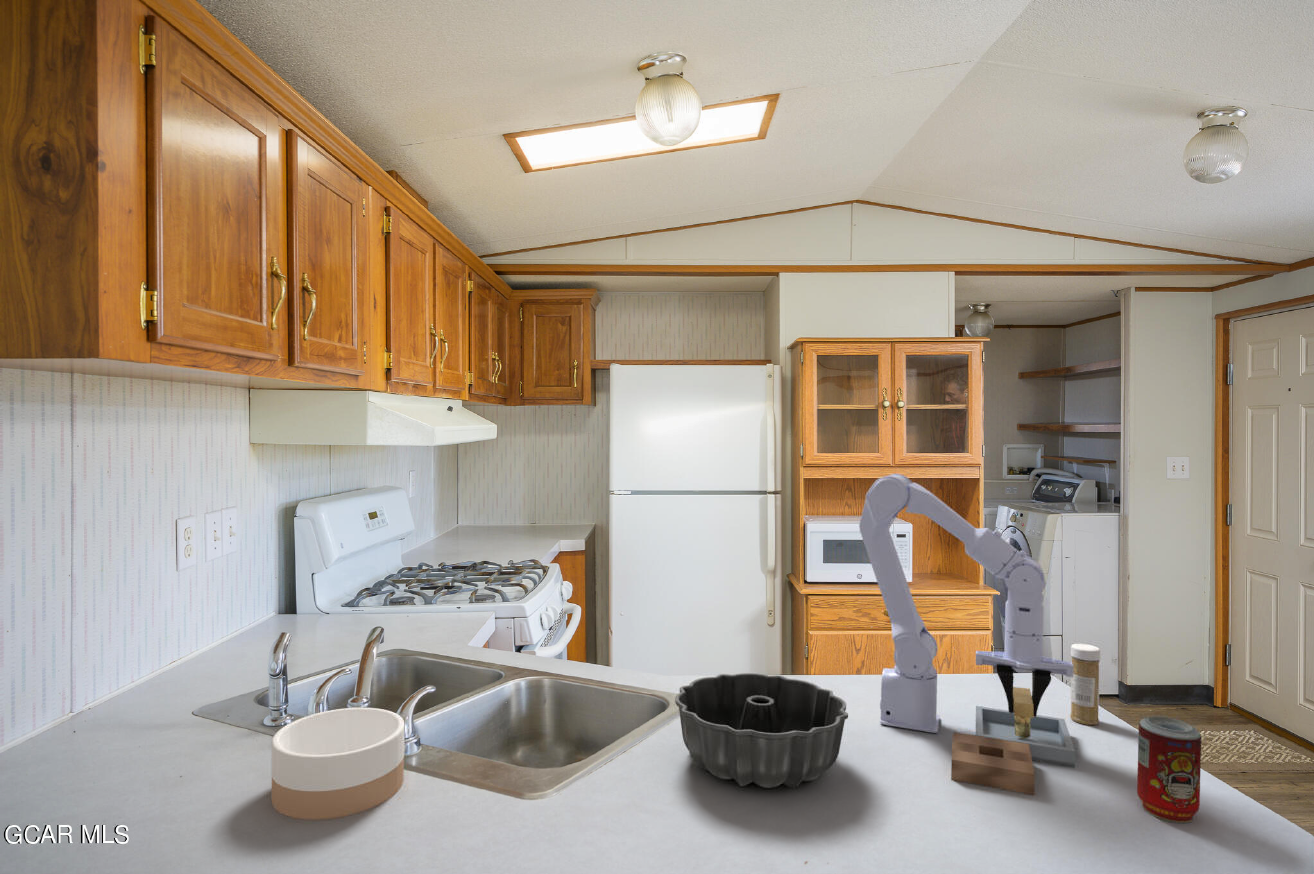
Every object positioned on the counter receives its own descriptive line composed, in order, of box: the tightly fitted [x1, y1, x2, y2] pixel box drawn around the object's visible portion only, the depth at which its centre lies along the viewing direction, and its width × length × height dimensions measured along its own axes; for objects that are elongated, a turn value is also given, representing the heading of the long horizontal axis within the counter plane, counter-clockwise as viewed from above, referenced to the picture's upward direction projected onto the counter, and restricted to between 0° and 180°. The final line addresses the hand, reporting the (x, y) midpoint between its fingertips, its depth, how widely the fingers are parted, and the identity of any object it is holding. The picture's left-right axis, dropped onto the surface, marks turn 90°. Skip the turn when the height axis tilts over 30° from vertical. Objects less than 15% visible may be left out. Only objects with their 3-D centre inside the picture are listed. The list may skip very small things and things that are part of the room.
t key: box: [1013, 686, 1034, 738], centre depth 123 cm, size 8×3×7 cm, turn 157°
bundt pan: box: [674, 672, 849, 789], centre depth 114 cm, size 26×26×10 cm
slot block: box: [950, 731, 1035, 796], centre depth 112 cm, size 11×11×3 cm
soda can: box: [1136, 715, 1202, 824], centre depth 101 cm, size 7×7×12 cm
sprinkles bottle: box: [1069, 643, 1101, 726], centre depth 133 cm, size 5×5×14 cm
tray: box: [975, 705, 1076, 768], centre depth 123 cm, size 14×14×2 cm
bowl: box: [270, 707, 405, 821], centre depth 104 cm, size 17×17×8 cm
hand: (1022, 712), depth 123 cm, fingers closed on t key, 3 cm apart
